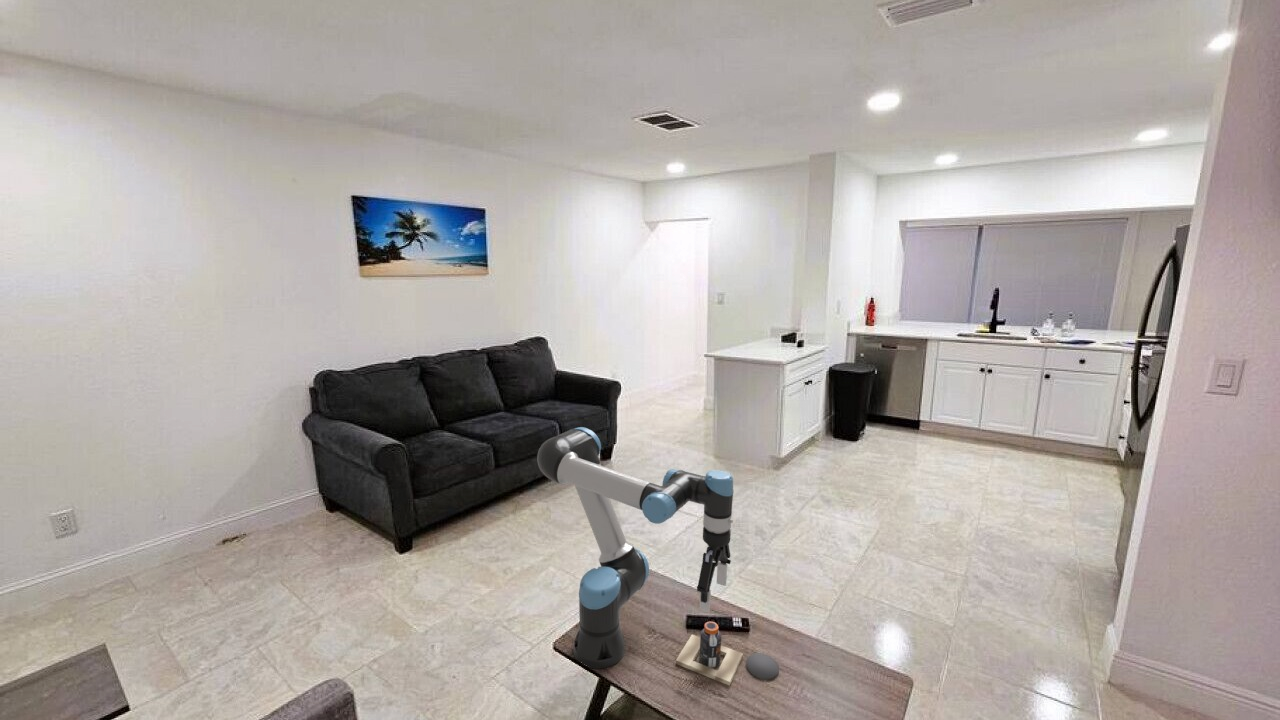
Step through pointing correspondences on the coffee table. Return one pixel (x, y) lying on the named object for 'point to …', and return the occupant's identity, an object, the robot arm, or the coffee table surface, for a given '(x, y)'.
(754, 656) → the grey river stone
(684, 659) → the socket board
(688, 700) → the coffee table surface
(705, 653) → the pill bottle
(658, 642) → the coffee table surface
